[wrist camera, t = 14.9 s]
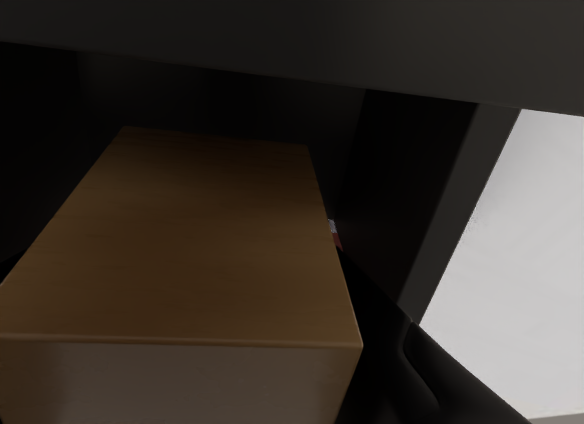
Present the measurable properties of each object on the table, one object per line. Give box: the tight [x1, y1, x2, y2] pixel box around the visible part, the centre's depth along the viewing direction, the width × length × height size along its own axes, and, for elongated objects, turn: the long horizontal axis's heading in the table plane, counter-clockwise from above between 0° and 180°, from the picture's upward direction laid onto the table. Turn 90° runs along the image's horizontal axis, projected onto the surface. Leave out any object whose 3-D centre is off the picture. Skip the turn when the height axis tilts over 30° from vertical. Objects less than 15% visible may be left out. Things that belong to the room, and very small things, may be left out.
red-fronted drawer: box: [0, 41, 522, 325], centre depth 11 cm, size 18×11×7 cm, turn 171°
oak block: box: [0, 126, 363, 424], centre depth 7 cm, size 4×4×6 cm
